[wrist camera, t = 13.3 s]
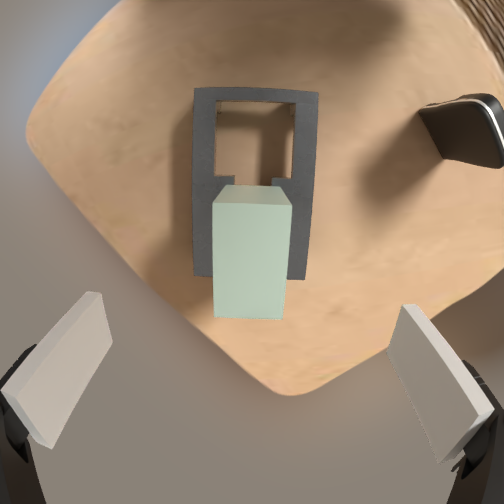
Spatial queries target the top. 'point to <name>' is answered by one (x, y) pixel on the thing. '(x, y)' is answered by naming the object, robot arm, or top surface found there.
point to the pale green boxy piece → (250, 251)
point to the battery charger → (468, 129)
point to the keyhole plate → (211, 185)
